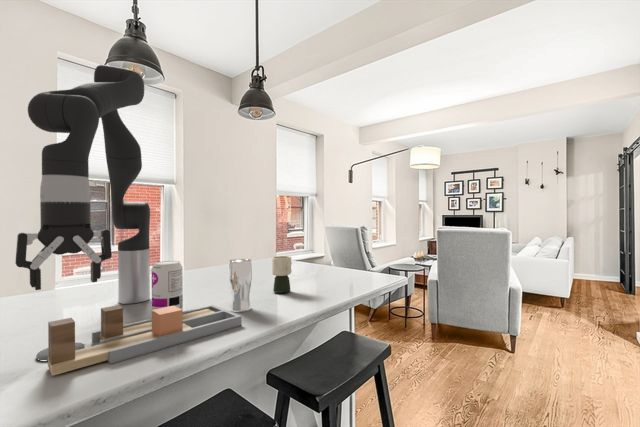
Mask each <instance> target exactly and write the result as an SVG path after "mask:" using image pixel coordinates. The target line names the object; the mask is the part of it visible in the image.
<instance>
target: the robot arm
mask: <svg viewBox="0 0 640 427" xmlns="http://www.w3.org/2000/svg"><path fill="white" fill-rule="evenodd" d="M144 97H145V82H144V78H143V76H142V75H141V74H140V73H139V72H137V71H136V70H133V69H128V68H124V67H117V66H113V65H106V64H99V65H97V66H96V67H95V69H94V73H93V82H87V83H83V84H81V85H77V86H75V87H73V88H71V89H61V90H59V89H58V90H50V91H43V92H39V93H38V94H36V95H34V96H33V97H32V98H31V99H30V101H29V102H28V105H27V114H28V118H29V119H30V121H31V122H32V124H34V125H35V127H36V128H38V129H40V130H42V131H44V132H49V133H56V134H59V133H60V134H68V135H67V137H66V139H65V140H62V141H61V142H57V143H50V144H47V145H45V146H43V148H42V150H41V182H40V189H39V194H40V195H39V197H40V201H39V202H40V203H39V204H40V207H39V208H40V229H39V230H38V232H37V233H36V232H35V233H34V232H33V233H30V232H28V233H27V232H19V233H18V234H17V237H16V251H15V266H16V267H18V268H24V269H27V270H29V285H30V286H31V288H34V290H35V291H40V290H42V277H41V276H42V274H41V273H42V269H41V268H40V267H41V265H43V263H44V262H45V261H46V260H47V259H48V258H49V257H51V255H52V254H54V255H57V256H59V255H65V254H78V253H80V252H82V253H83V254H84V255H85V256H87V258H88V259H89V260H90V261H91V262H90V282H92V283H97V282H98V280H100V279H101V277H102V266H101V265H102V263H103V261H107V260H109V259H111V258H112V256H113V255H112V243H111V241H112V240H111V232H110V230H109V229H106V228H103V229H100V230H93V229H92V226H91V225H92V224H91V222H92V221H91V200H92V195H91V186H90V179H89V169H90V168H89V167H90V166H89V158H90V153H91V149H92V146H93V143H94V139H95V136H96V134H97V131H98V127H99V123H100V119H101V124H102V129H103V139H104V151H105V158H106V166H107V167H106V168H107V172H108V178H109V185H110V194H111V195H110V197H111V200H110V201H111V214H112V215H111V216H112V218H111V219H112V222H113V225H114V226H113V227H115V229H118V230H138V232H137V233H136V234H135V235H133V236H132V237H129V238H126V239H123V240H120V241H119V242H118V244H117V264H118V265H117V268H118V270H117V277H118V278H117V279H118V280H117V282H118V290H117V291H118V293H117V294H118V295H117V296H118V299H117V300H118V304H121V305H122V304H125V305H126V304H127V305H129V304H138V303H142V302H147V301H148V300H150V299H151V297H150V296H151V285H150V284H151V279H150V275H151V274H150V273H151V271H150V270H151V266H150V264H151V263H150V262H151V261H150V224H151V222H150V221H151V209H150V208H151V207H150V205H149V202H145V201H124V197H125V194H126V193H127V192H128V190H129V188H130V186H132V184H133V183H134V182H135V180H136V179H137V177H138V176H140V173H141V171H142V169H143V162H142V149H141V146H140V144H139V141H137V139H136V138H135V136H134V135H133V133H132V132H131V131H130V129H129V128H128V127H127V126H126V124H125V123H124V122H123V119H122V118H121V117H120V114H119V111H118V110H119V109H122V108H127V107H131V106H137V105H140V104H141V102H143V99H144ZM94 237H96V240H97V241H100V250H101V253H99V254H97V253H96V252H95V250H94V249H92V247H91V246H90V245H88V244H89V242H91V241H92V239H93V238H94ZM35 240H38V241H39V242H40V243H41V244H42V245H43V247H42V248H41V250H40V251H39V252H38V253H37V254H36V255H35V257H34V258H33V259H32V260H27V248H28V247H27V246H31V245H32V244H33V243H34V241H35Z"/></svg>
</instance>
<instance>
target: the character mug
mask: <svg viewBox="0 0 640 427" xmlns="http://www.w3.org/2000/svg"><path fill="white" fill-rule="evenodd" d="M271 261H272V262H271V269H272V270H271V271H272V272H271V274H272V275H273V276H275V277H274V282H273V292H274V293H283V294H285V293H289V292H291V282H290V278H289V275H291V274H292V271H293V270H292V264H293V263H292V262H293V261H292V256H290V255H279V256H278V255H276V256H272V258H271Z"/></svg>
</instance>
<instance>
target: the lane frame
mask: <svg viewBox="0 0 640 427" xmlns="http://www.w3.org/2000/svg"><path fill="white" fill-rule="evenodd" d="M204 309H209V310H212V311H214V313H210V314H206V315H202V316H198V317H194V318H190V319H185V320H183V323H184V324H186V325H188V326H190V327H191V328H190V329H186V330H182V331H179V332H175V333H171V334H167V335H164V336H160V337H156V338H152V339H149V340H145V341H141V342H137V343H134V344H130V345H126V346H123V347H119V348H115V349H111V350H109V360H106V362H107V363H108V364H109V365H114V364H116V363H120V362H124V361H126V360H130V359H134V358H137V357H141V356H143V355H146V354H149V353H154V352H156V351H157V352H158V351H161V350H164V349H167V348H168V349H169V348H170V347H174V346H177V345H180V344H184V343H189V342H191V341H194V340H197V339H202V338H204V337H208V336H211V335H215V334H219V333H221V332H224V331H227V330H232V329H235V328H238V327H242V324H243V323H242V315H241V314H237V313H236V312H232V311H231V310H227V309H225V308H222V307H220V306H217V305H214V304H211V305H206V306H201V307H197V308H192V309H189V310H182V311H183V314H187V313H191V312H196V311H200V310H204ZM148 322H152V318H148V319H143V320H139V321H134V322H131V323H126V324H123V328H127V327H131V326H135V325H140V324H144V323H148ZM151 331H152V328H149V329H145V330H140V331H136V332H132V333H128V334H124V335H120V336H116V337H112V338H108V339H104V340H100V334H101V329H100V330H99V329H98V330H94V331H91V344H92V343H93V344H94V345H93V344H92V345H93V346H95V345H99V344H103V343H107V342H111V341H115V340H119V339H123V338H127V337H131V336H135V335H139V334H143V333H147V332H151Z"/></svg>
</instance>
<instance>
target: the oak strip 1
mask: <svg viewBox="0 0 640 427" xmlns="http://www.w3.org/2000/svg"><path fill="white" fill-rule="evenodd" d="M47 324H48V325H47V327H48V328H47V329H48V330H47V331H48V332H47V333H48V335H47V338H48V342H47V343H48V347H47V348H48V349H49V357H48V362H47V367H48V369H49V371H50V374H51V376H52V377H53V376H57V375H60V374H63V373H67V372H71V371H74V370H77V369H81V368H84V367H88V366H91V365H95V364H99V363H103V362H107V360H109V350H111V349H115V348H119V347H123V346H126V345H130V344H134V343H137V342H141V341H145V340H149V339H152V338H156V337H159V336H157V335H156V334H154V333H153V332H152V331H151V332H147V333H143V334H139V335H135V336H131V337H127V338H123V339H119V340H115V341H111V342H107V343H103V344H99V345H95V346H94V345H92V346H87V347H85V348H83V349H80V350H76V351H75V343H76V322H75V320H74V319H73V318H72V317H67V318H63V319H57V320H52V321H48V322H47ZM190 328H191V327H190V326H188V325H186V324H184V323H183V330H186V329H190Z"/></svg>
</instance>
